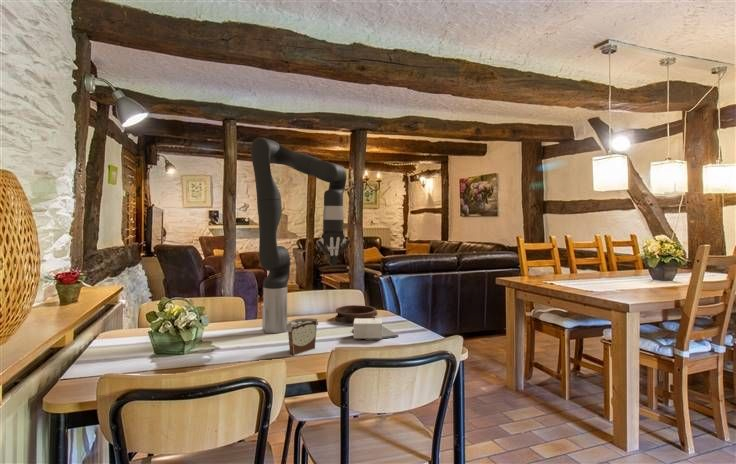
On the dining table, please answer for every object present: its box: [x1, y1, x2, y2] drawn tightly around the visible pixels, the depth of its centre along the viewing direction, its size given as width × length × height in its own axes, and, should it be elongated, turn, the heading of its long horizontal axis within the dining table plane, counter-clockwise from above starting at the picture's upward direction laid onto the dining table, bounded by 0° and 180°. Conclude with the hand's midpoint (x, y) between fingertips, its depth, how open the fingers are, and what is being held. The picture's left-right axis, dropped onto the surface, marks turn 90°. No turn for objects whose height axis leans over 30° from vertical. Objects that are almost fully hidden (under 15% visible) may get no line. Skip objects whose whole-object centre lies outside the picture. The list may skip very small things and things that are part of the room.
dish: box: [334, 304, 378, 324], centre depth 185 cm, size 18×22×5 cm
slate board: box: [352, 325, 399, 342], centre depth 163 cm, size 13×14×1 cm
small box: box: [353, 317, 383, 339], centre depth 158 cm, size 8×6×10 cm
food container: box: [286, 317, 319, 356], centre depth 142 cm, size 12×6×10 cm, turn 141°
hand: (332, 265), depth 155 cm, fingers closed
